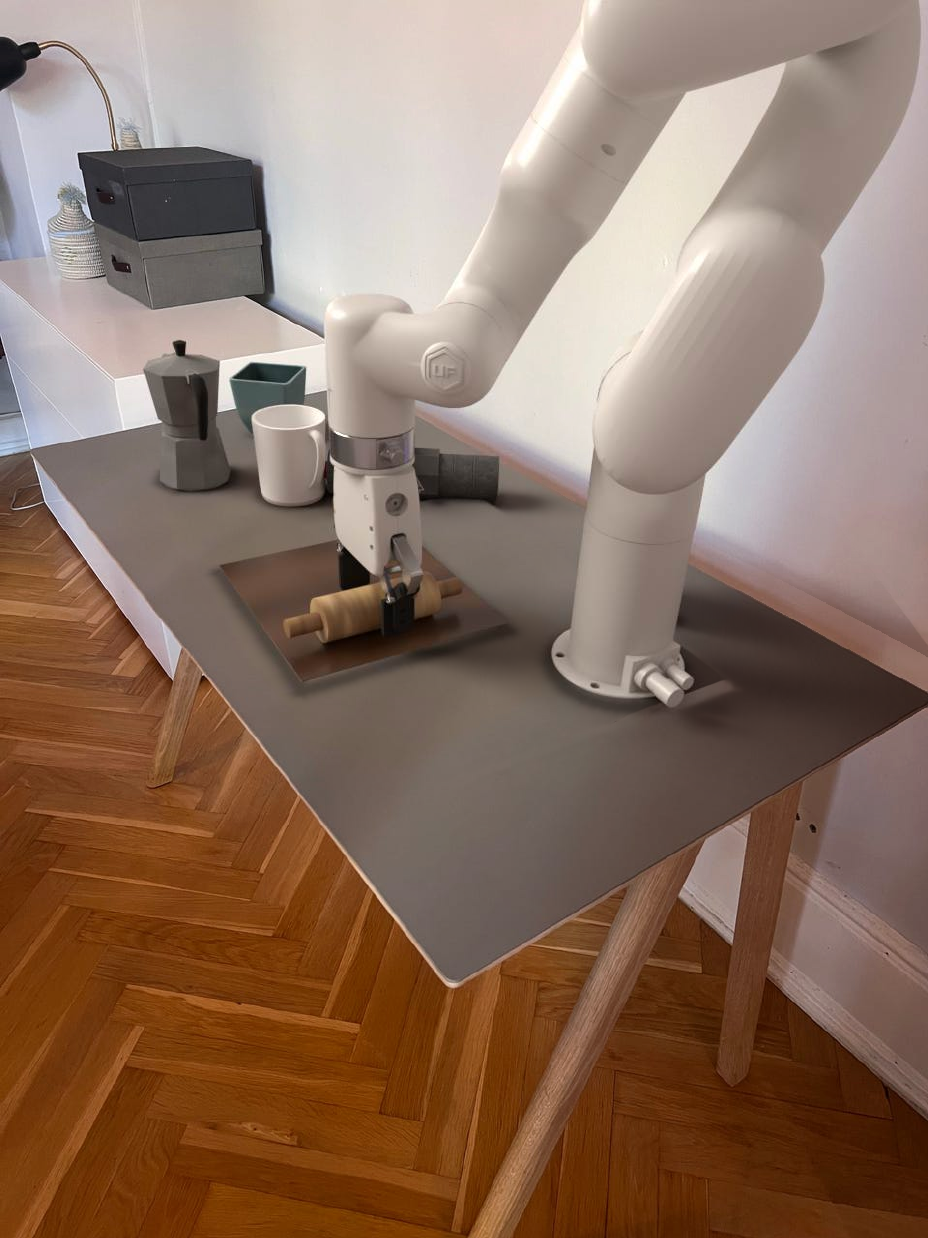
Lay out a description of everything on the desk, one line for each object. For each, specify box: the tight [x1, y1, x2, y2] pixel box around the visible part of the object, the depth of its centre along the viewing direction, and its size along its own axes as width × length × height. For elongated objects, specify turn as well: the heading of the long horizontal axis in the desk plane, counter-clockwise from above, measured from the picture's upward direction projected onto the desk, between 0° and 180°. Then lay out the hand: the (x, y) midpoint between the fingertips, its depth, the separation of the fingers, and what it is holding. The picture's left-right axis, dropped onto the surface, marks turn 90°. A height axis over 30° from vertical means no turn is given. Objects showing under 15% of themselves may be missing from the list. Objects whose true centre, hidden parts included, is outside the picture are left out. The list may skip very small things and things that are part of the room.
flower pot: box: [228, 361, 307, 436], centre depth 133 cm, size 9×9×9 cm
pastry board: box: [218, 539, 508, 683], centre depth 95 cm, size 24×22×1 cm
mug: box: [252, 404, 327, 508], centre depth 114 cm, size 11×9×10 cm
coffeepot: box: [142, 339, 231, 492], centre depth 115 cm, size 15×9×18 cm, turn 29°
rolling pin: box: [283, 571, 462, 643], centre depth 89 cm, size 4×18×4 cm, turn 120°
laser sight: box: [324, 447, 500, 502], centre depth 116 cm, size 10×22×10 cm, turn 89°
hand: (375, 609), depth 89 cm, fingers open, 9 cm apart
